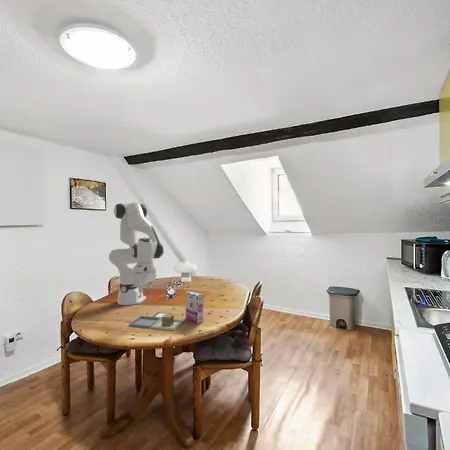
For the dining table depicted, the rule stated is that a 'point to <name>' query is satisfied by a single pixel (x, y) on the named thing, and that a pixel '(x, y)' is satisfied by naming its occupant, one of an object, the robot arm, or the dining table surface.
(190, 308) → the candy bar box
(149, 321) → the tray
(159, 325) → the tray
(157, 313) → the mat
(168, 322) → the letter cube
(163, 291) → the dining table surface
